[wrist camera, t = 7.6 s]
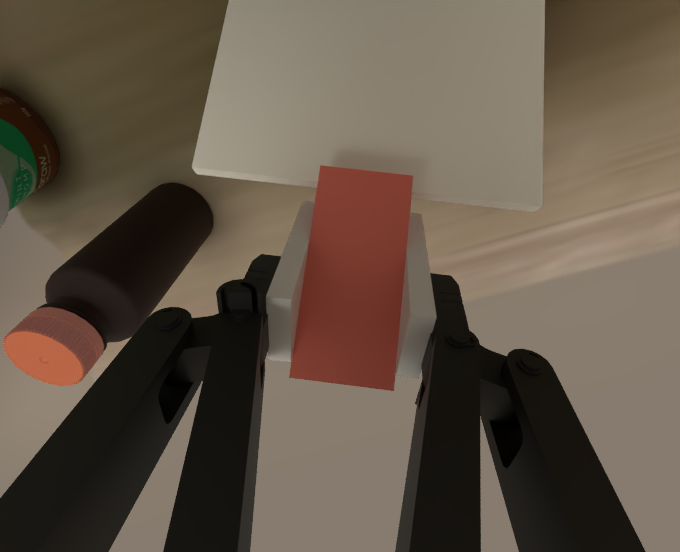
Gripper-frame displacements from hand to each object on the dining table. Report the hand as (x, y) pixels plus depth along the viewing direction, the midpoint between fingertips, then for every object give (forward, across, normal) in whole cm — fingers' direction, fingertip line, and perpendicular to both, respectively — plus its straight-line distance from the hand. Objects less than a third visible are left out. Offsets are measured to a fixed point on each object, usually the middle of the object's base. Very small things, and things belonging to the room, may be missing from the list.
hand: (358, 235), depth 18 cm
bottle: (+20, -18, -11) cm, 29 cm away
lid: (+2, 0, +3) cm, 4 cm away
